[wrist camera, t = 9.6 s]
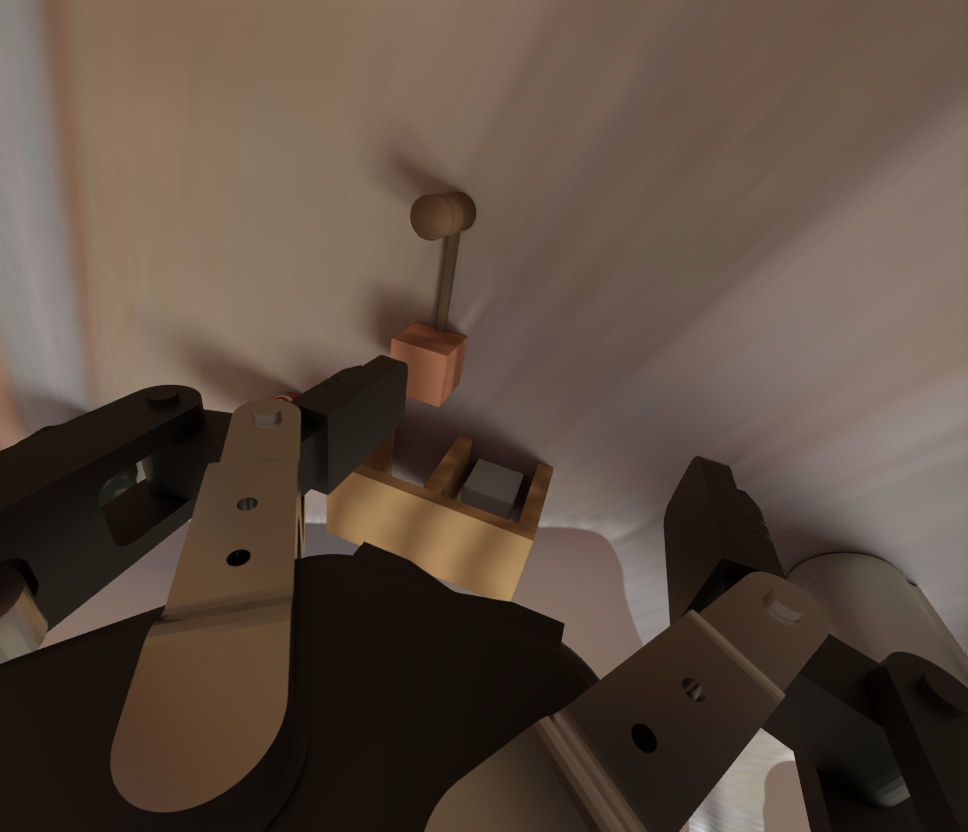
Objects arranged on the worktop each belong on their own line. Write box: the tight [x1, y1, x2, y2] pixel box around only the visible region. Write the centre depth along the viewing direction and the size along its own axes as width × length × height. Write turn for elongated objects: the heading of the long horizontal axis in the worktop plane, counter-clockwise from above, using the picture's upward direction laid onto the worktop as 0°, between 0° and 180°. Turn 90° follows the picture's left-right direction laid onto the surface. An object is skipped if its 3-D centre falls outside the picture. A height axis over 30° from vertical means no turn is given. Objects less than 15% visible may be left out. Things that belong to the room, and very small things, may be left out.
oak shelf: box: [327, 431, 553, 602], centre depth 43 cm, size 19×9×10 cm, turn 78°
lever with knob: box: [390, 192, 476, 407], centre depth 35 cm, size 5×16×6 cm, turn 168°
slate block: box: [460, 459, 524, 520], centre depth 44 cm, size 5×5×5 cm
